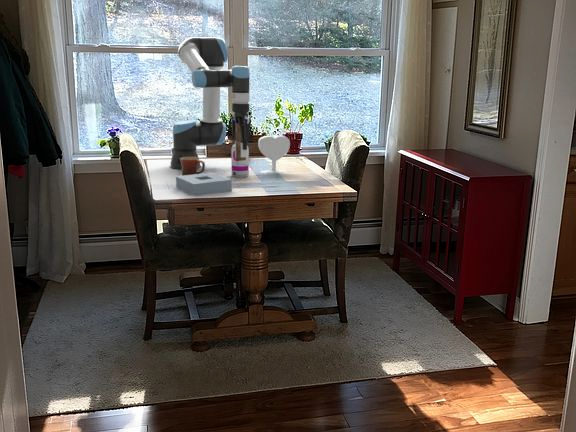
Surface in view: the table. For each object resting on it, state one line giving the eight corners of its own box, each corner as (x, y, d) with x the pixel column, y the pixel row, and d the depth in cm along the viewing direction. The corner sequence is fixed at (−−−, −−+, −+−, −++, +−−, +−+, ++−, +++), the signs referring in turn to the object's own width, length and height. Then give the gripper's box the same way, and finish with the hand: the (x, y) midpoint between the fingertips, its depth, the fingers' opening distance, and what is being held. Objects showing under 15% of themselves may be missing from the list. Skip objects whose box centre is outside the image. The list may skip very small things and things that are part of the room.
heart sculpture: (287, 170, 314) (288, 135, 309) (289, 172, 309) (290, 136, 304) (257, 171, 310) (257, 135, 305) (259, 173, 306) (259, 136, 301)
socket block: (176, 187, 272) (175, 176, 270) (212, 183, 281) (212, 172, 280) (194, 195, 257) (193, 184, 256) (231, 190, 267) (231, 179, 266)
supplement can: (246, 178, 293) (246, 146, 289) (229, 177, 295) (229, 146, 291) (250, 174, 301) (250, 144, 297) (234, 173, 303) (234, 143, 299)
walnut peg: (234, 159, 273) (233, 123, 269) (242, 158, 276) (242, 122, 272) (239, 160, 270) (238, 124, 266) (247, 160, 272) (247, 123, 268)
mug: (177, 181, 284) (176, 159, 282) (186, 177, 292) (185, 156, 290) (200, 183, 281) (200, 161, 278) (208, 179, 289) (208, 158, 286)
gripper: (223, 101, 271) (224, 153, 277) (243, 104, 257) (243, 159, 263) (238, 100, 275) (238, 152, 281) (258, 104, 261) (258, 158, 267)
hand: (241, 156), depth 272 cm, fingers closed on walnut peg, 4 cm apart
